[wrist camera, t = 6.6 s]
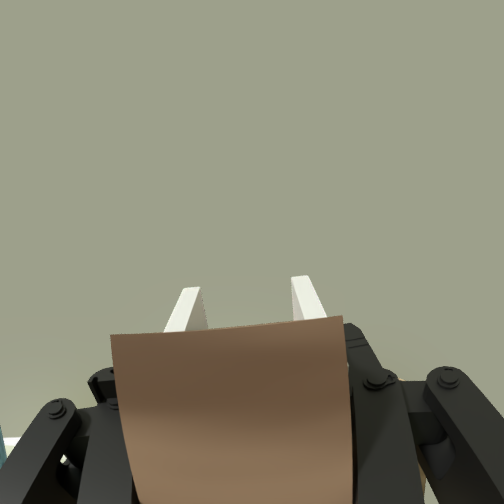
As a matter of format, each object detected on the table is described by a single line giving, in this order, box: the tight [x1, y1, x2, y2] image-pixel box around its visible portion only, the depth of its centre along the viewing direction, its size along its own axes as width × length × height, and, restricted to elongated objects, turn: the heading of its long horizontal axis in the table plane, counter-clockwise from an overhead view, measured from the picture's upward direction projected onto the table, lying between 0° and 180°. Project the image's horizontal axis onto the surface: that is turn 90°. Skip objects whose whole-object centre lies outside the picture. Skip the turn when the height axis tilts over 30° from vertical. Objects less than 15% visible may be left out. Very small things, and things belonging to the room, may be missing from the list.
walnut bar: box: [110, 316, 353, 504], centre depth 16 cm, size 24×4×4 cm, turn 177°
